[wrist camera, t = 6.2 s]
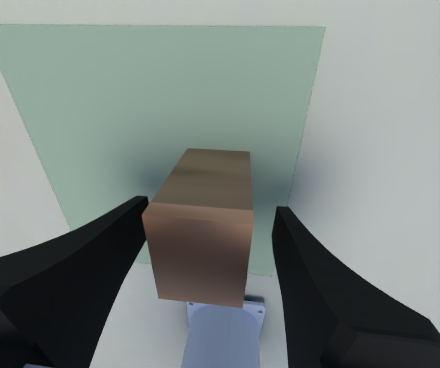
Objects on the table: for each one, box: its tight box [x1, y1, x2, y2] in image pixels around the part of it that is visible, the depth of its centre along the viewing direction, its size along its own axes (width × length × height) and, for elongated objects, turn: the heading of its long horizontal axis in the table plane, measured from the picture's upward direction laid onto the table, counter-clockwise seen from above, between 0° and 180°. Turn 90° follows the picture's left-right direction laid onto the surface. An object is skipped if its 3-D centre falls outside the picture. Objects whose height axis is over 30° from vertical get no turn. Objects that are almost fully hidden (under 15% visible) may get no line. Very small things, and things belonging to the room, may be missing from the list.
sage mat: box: [0, 25, 326, 276], centre depth 15 cm, size 18×18×1 cm
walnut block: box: [142, 148, 254, 308], centre depth 12 cm, size 5×4×7 cm
